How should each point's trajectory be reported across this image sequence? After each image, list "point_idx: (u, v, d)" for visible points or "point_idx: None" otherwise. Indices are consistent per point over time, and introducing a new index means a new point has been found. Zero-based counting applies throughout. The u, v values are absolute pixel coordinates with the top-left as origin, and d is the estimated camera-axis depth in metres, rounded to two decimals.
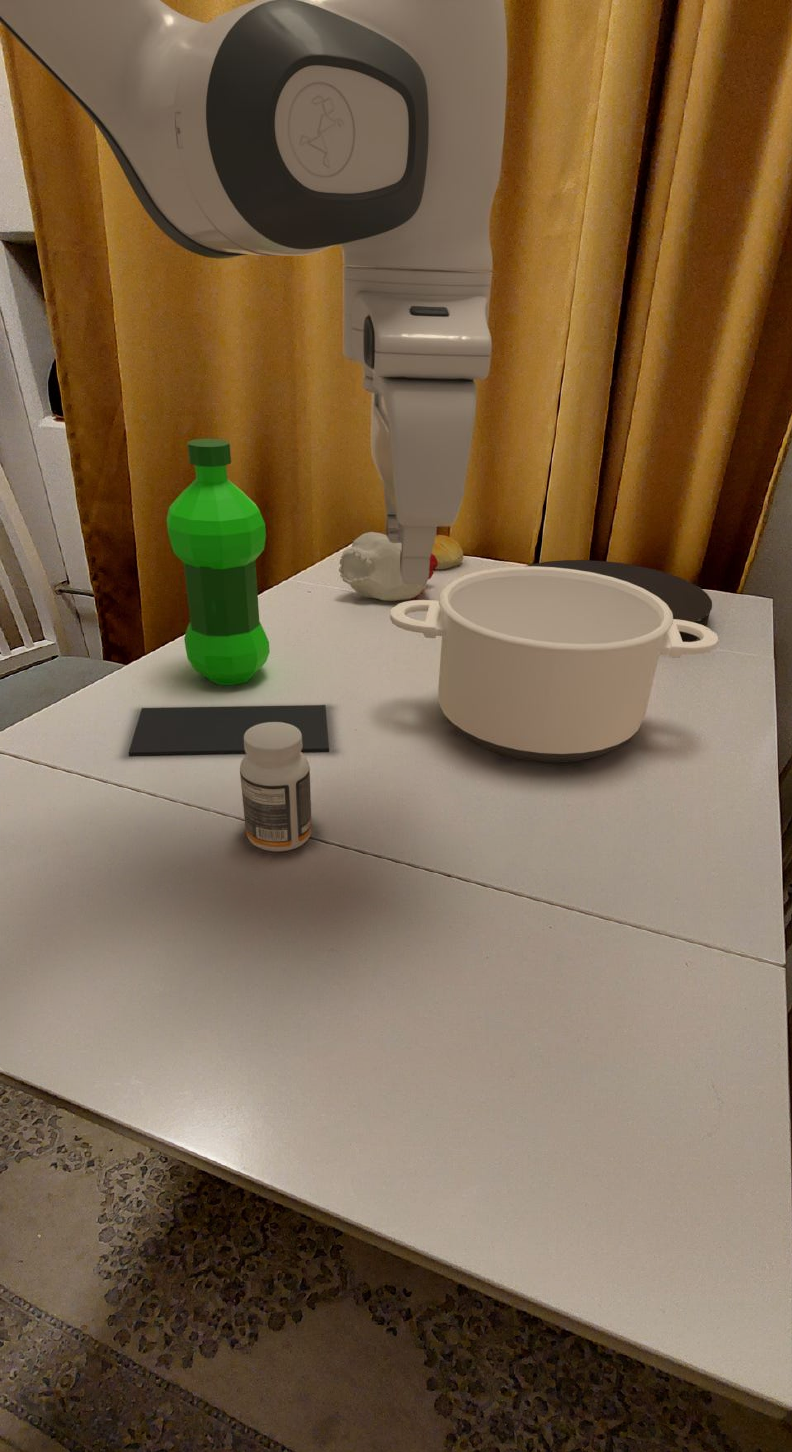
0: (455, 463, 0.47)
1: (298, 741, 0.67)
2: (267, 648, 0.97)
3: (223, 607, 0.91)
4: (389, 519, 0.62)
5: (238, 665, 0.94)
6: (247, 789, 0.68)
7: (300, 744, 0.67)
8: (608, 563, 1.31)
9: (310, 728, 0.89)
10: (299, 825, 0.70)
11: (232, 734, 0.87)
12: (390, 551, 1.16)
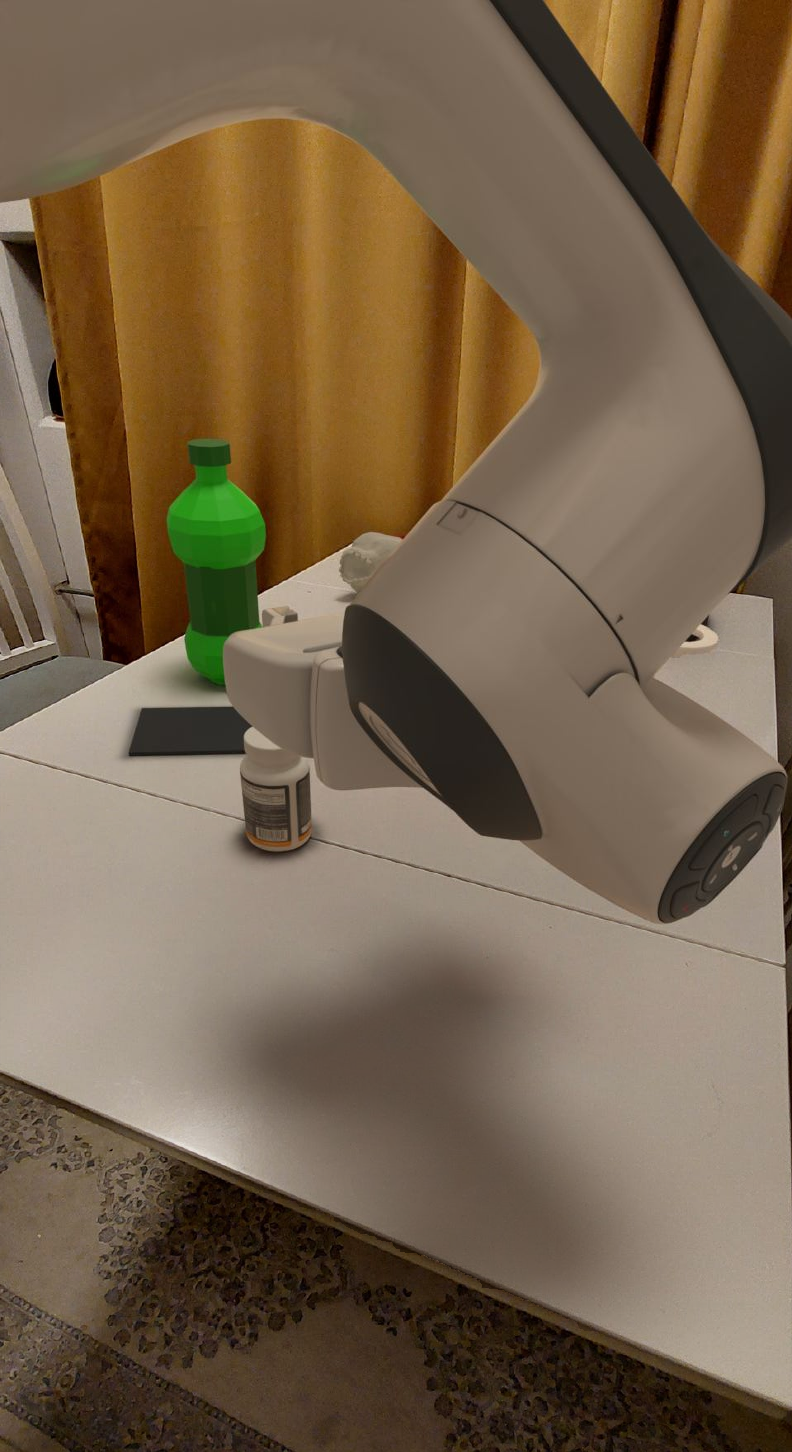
0: (251, 716, 0.42)
1: None
2: None
3: (223, 607, 0.91)
4: None
5: None
6: (247, 789, 0.68)
7: None
8: None
9: None
10: (299, 825, 0.70)
11: (232, 734, 0.87)
12: (390, 551, 1.16)
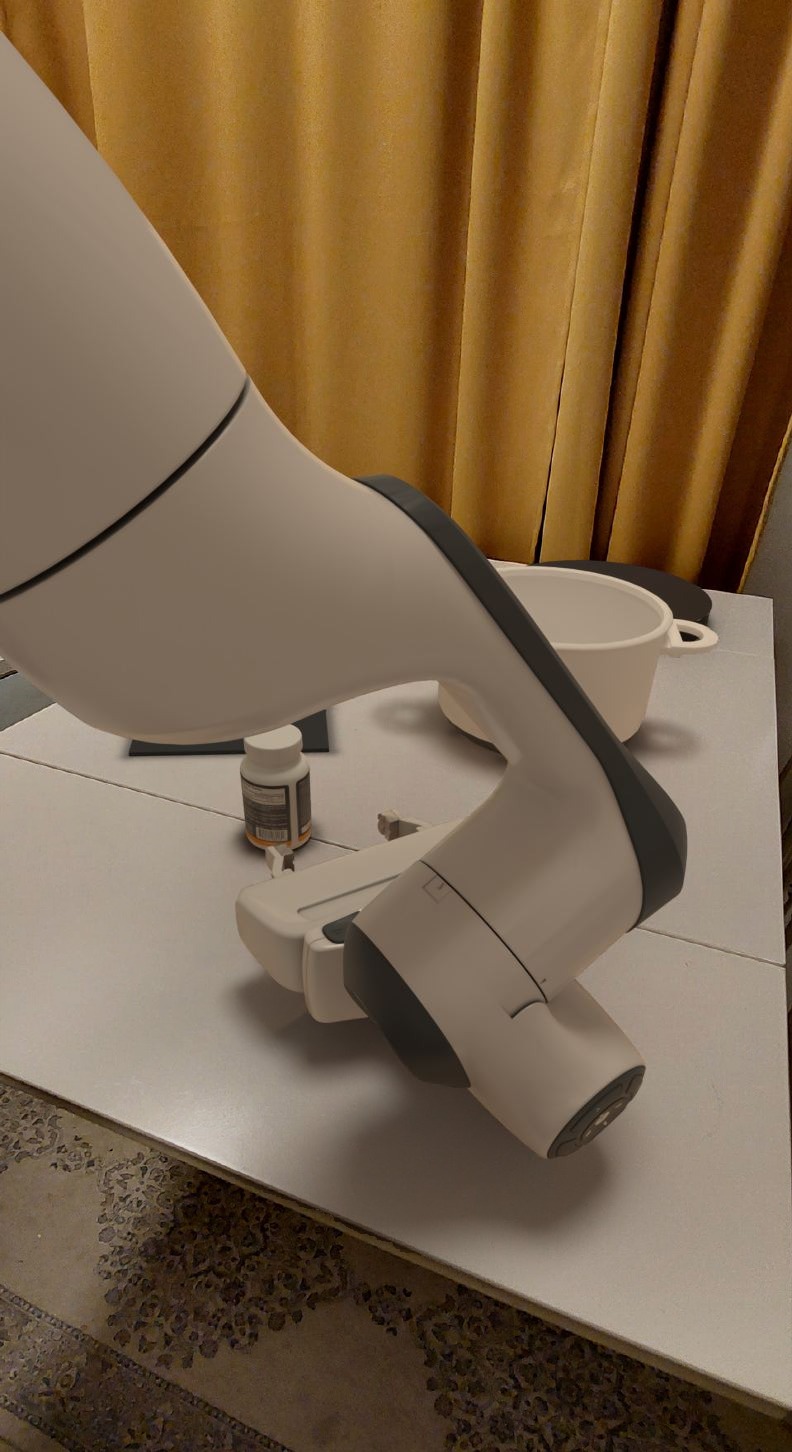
0: (257, 956, 0.54)
1: (298, 741, 0.67)
2: None
3: None
4: (389, 822, 0.63)
5: None
6: (247, 789, 0.68)
7: (300, 744, 0.67)
8: (608, 563, 1.31)
9: (310, 728, 0.89)
10: (299, 825, 0.70)
11: None
12: None
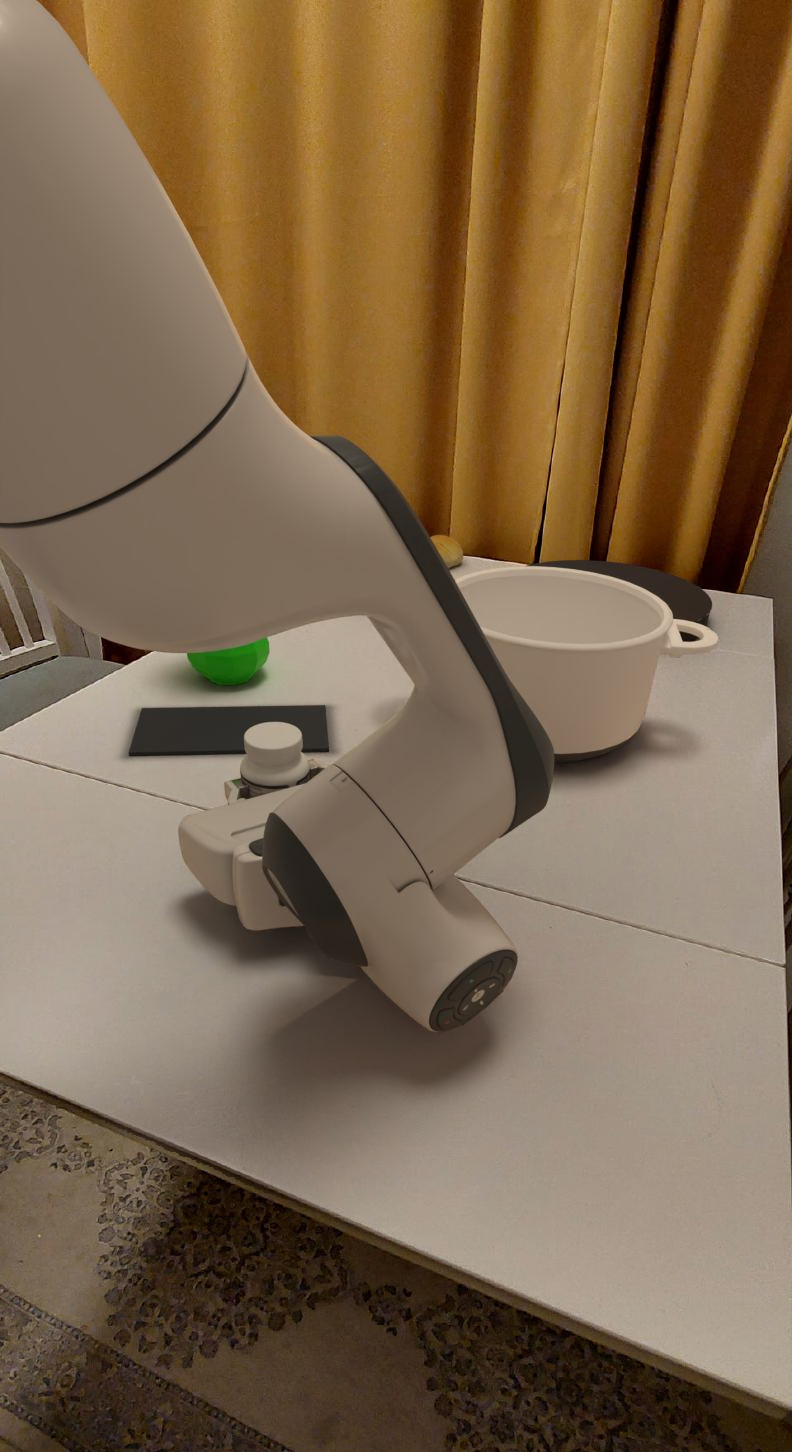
0: (197, 875, 0.62)
1: (299, 741, 0.67)
2: (267, 648, 0.97)
3: None
4: (310, 769, 0.70)
5: (238, 665, 0.94)
6: None
7: (300, 744, 0.67)
8: (608, 563, 1.31)
9: (310, 728, 0.89)
10: None
11: (232, 734, 0.87)
12: None
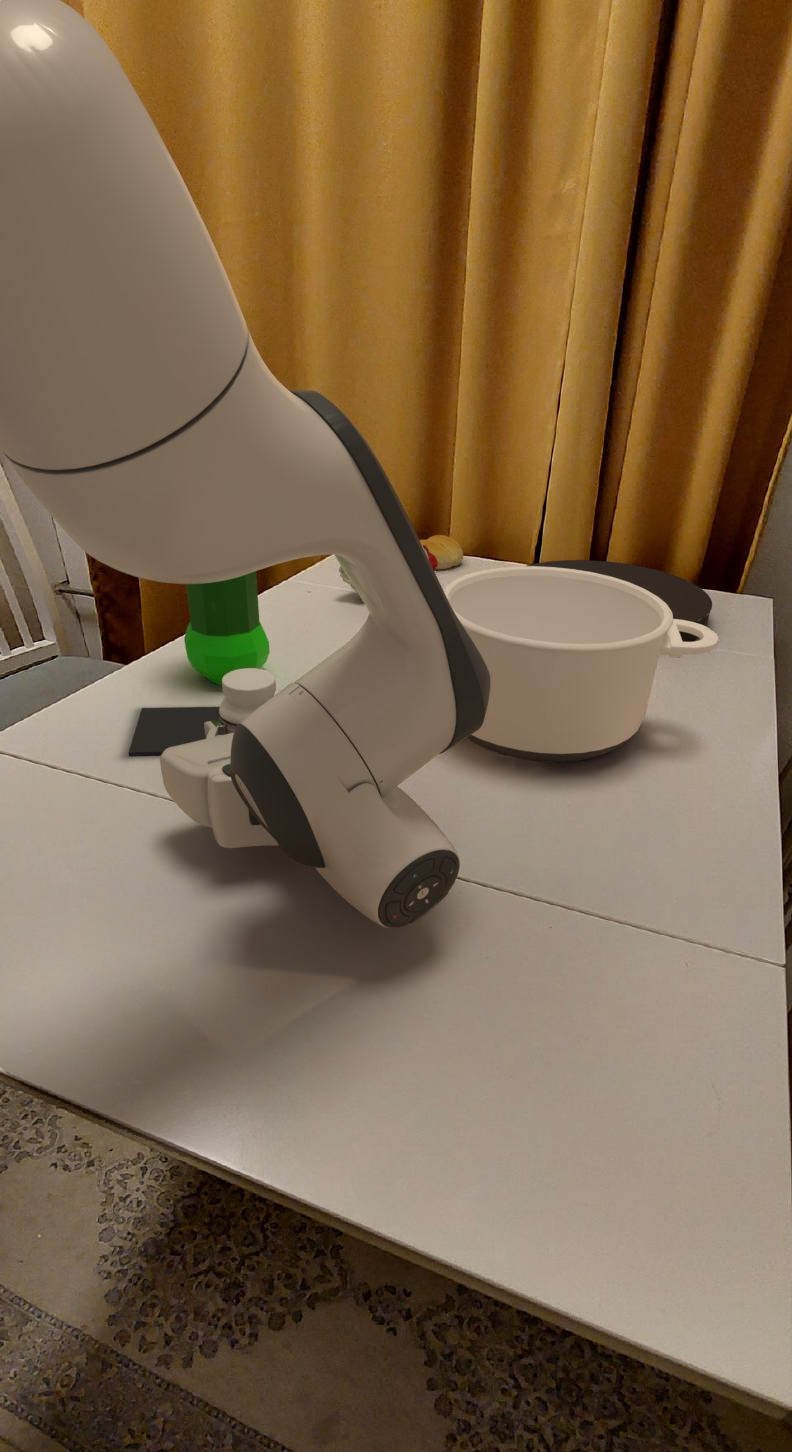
0: (177, 800, 0.68)
1: (272, 683, 0.73)
2: (267, 648, 0.97)
3: (223, 607, 0.91)
4: None
5: (238, 665, 0.94)
6: None
7: (273, 687, 0.74)
8: (608, 563, 1.31)
9: None
10: None
11: None
12: None
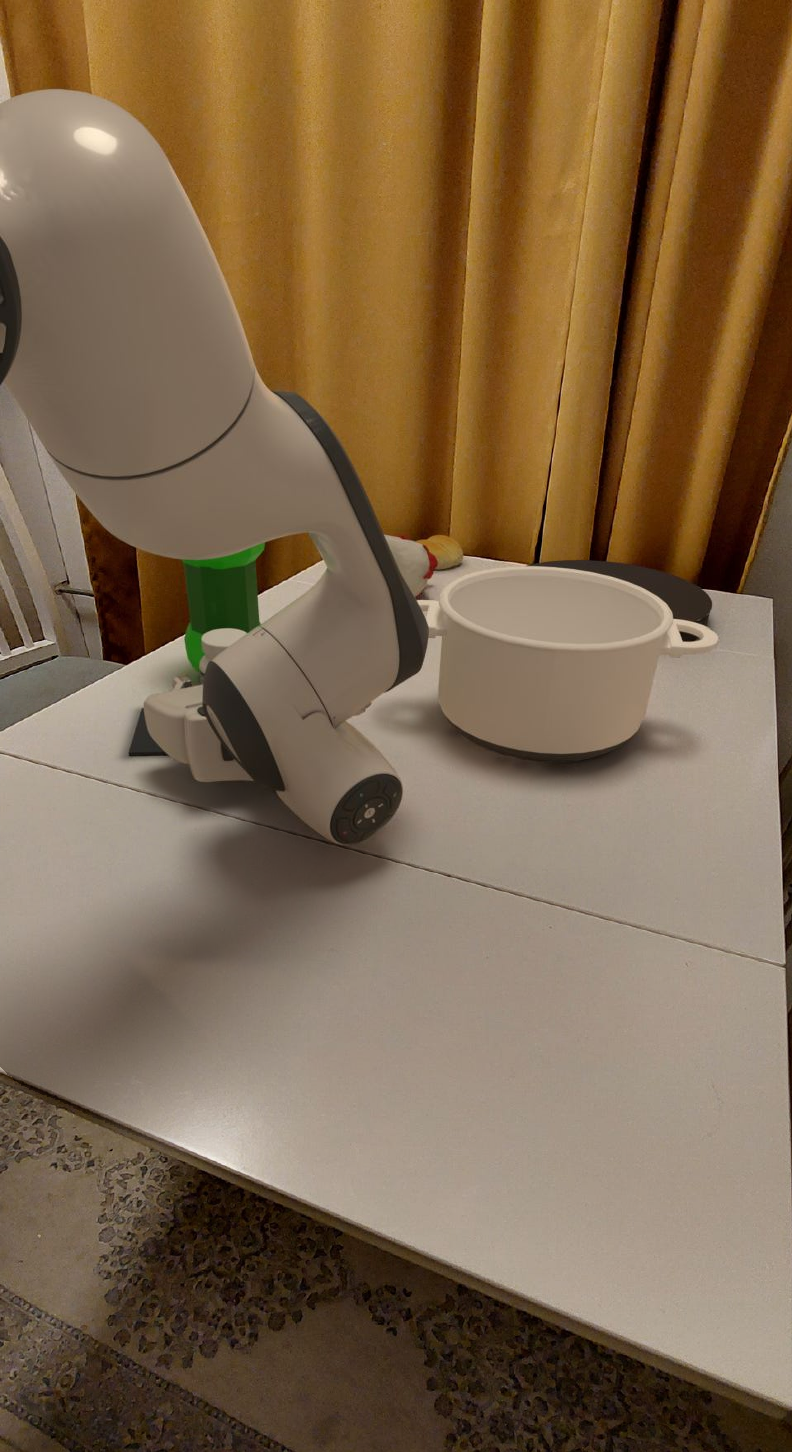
0: (158, 741, 0.77)
1: None
2: None
3: (223, 607, 0.91)
4: None
5: None
6: None
7: None
8: (608, 563, 1.31)
9: None
10: None
11: None
12: None
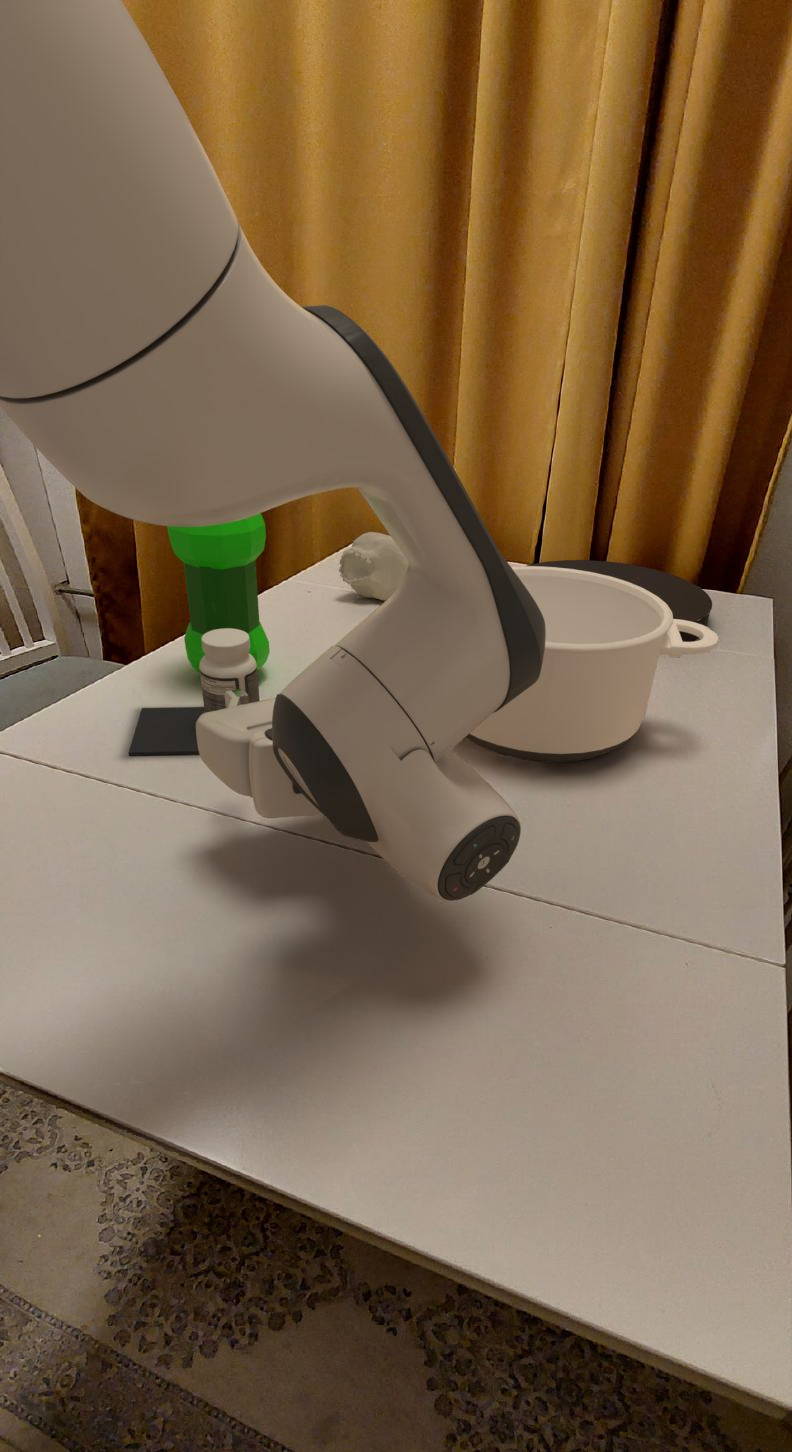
0: (214, 768, 0.64)
1: (246, 641, 0.82)
2: (267, 648, 0.97)
3: (223, 607, 0.91)
4: None
5: None
6: (205, 682, 0.83)
7: (248, 644, 0.82)
8: (608, 563, 1.31)
9: None
10: None
11: None
12: (390, 551, 1.16)
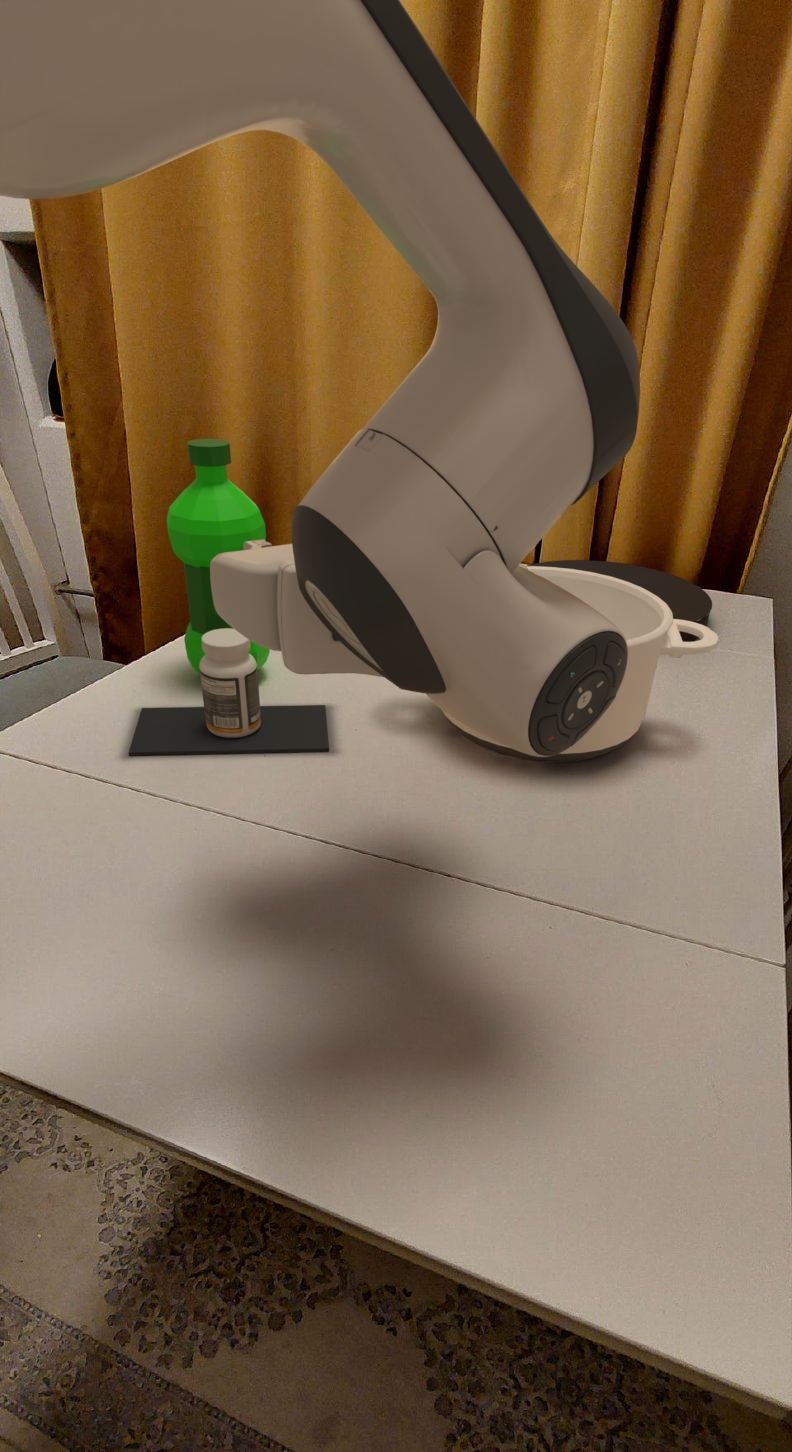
0: (232, 619, 0.52)
1: (246, 641, 0.82)
2: None
3: None
4: None
5: None
6: (205, 682, 0.83)
7: (248, 644, 0.82)
8: (608, 563, 1.31)
9: (310, 728, 0.89)
10: (249, 714, 0.85)
11: None
12: None
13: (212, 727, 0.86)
